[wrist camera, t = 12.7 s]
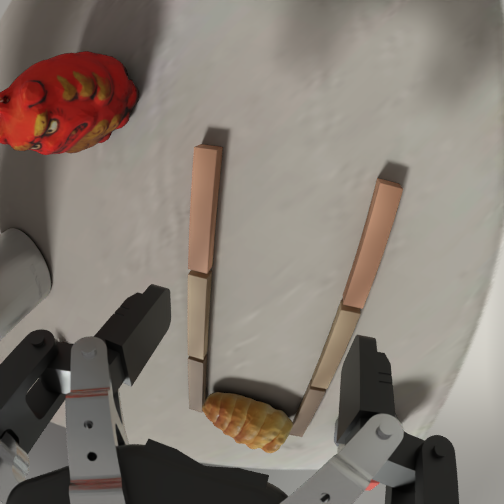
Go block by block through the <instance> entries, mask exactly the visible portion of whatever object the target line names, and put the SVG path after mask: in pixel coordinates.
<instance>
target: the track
mask: <svg viewBox="0 0 504 504" xmlns="http://www.w3.org/2000/svg"><path fill="white" fill-rule="evenodd" d="M222 150H223V147H219V146H212V145H204V144H200V145H198V146H196V147H194V158H193V172H192V188H191V206H190V227H189V256H188V269H190V270H191V271H190V273H189V274H188V355H189V358H188V385H189V409H192V410H195V411H198V412H201V413H202V411H203V410H202V406H203V404H204V403H205V396H206V370H207V354H206V353H207V348H208V328H209V311H210V294H211V279H212V271H210V269H211V267H212V265H213V251H214V238H215V226H216V214H217V202H218V191H219V181H220V170H221V160H222ZM402 191H403V188H402V187H401V186H400V184H398V183H394V182H391V181H387V180H383V179H379V178H377V181H376V185H375V189H374V193H373V197H372V201H371V204H370V208H369V212H368V215H367V219H366V222H365V226H364V229H363V233H362V236H361V240H360V243H359V246H358V250H357V253H356V256H355V259H354V262H353V266H352V269H351V272H350V275H349V278H348V281H347V284H346V287H345V290H344V293H343V301H342V300H341V302H340V305H339V307H338V310H337V313H336V316H335V319H334V321H333V324H332V327H331V330H330V332H329V335H328V338H327V340H326V343H325V345H324V348H323V351H322V353H321V356H320V358H319V361H318V363H317V366H316V368H315V371H314V373H313V376H312V380H311V381H310V383H309V385H308V388H307V390H306V392H305V395H304V397H303V399H302V402H301V404H300V406H299V408H298V411H297V413H296V415H295V417H294V420H293V427H292V429H291V431H290V434H289V435H294V436H300V437H302V436H303V434H304V432H305V431H306V429H307V427H308V425H309V423H310V421H311V419H312V418H313V416H314V414H315V412H316V410H317V408H318V406H319V404H320V402H321V400H322V398H323V396H324V394H325V392H326V389H327V388H328V386H329V384H330V382H331V380H332V378H333V376H334V374H335V371H336V369H337V367H338V365H339V363H340V361H341V358H342V356H343V354H344V352H345V349H346V347H347V345H348V343H349V340H350V338H351V336H352V333H353V331H354V329H355V326H356V324H357V321H358V319H359V317H360V314H361V313H360V308H362V309H363V307H364V304H365V302H366V299H367V296H368V294H369V291H370V289H371V286H372V283H373V281H374V278H375V275H376V272H377V270H378V267H379V264H380V261H381V258H382V255H383V253H384V250H385V247H386V244H387V241H388V238H389V234H390V231H391V228H392V225H393V222H394V219H395V215H396V212H397V209H398V205H399V202H400V198H401V195H402Z"/></svg>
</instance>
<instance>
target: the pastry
mask: <svg viewBox="0 0 504 504" xmlns="http://www.w3.org/2000/svg"><path fill="white" fill-rule="evenodd" d="M202 410H203V412H204V413H205V415H206V417H207V418H208V419H209V420H210V421H212V422H213V424H214V426H216V427H217V428H219V429H221V430H222V431H223V433H224V434H226V435H229V436H231V437H233V438H234V439H235V441H236V443H239V444H240V443H243V444H246V445H247V446H248V447H249V448H251V449H257V448H261V449H262V450H264V451H265V452H267V453H273V452H275V451H277V450H278V449H279V448H280V446H281V445H282V444H283V443H284V442H285V440H286V439H287V437H288V435H289V434H290V431H291V429H292V427H293V422H292V421H291V420H290V419H289V418H288V416H287V415H286V414H285V413H284V412H283V411H281V410H276V409H274V408H272V407H271V405H268V404H265V403H263V402H260V401H259V402H258V401H255V400H253V399H251V398H246V397H244V396H241V395H238V394H231V393H220V392H215V393H212V394H210V395H209V396H208V397H207V399H206V401H205V403H204V404H203V406H202Z"/></svg>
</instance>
